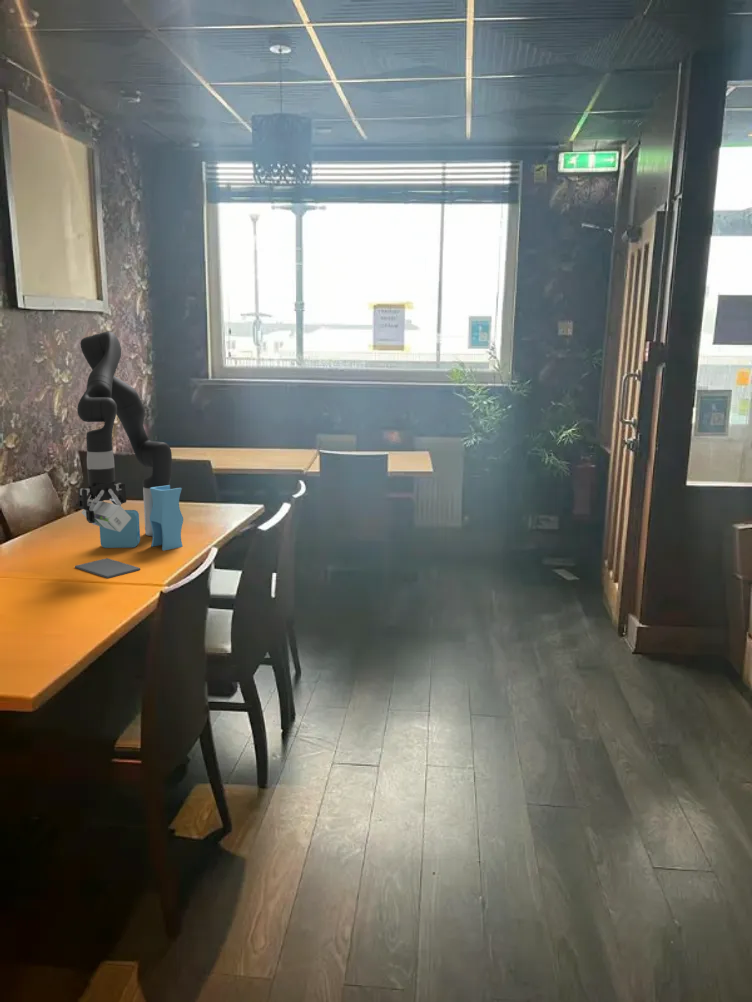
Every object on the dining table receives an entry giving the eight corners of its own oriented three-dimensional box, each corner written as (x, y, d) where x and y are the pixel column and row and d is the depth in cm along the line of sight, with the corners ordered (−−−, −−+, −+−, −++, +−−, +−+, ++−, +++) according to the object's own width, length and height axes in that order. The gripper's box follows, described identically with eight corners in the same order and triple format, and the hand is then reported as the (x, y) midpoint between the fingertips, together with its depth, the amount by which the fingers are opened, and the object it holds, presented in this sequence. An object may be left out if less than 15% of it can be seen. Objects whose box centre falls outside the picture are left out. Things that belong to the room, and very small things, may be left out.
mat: (74, 567, 222) (74, 565, 221) (107, 560, 230) (107, 558, 230) (107, 578, 211) (107, 576, 211) (140, 569, 220) (140, 567, 220)
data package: (140, 544, 250) (138, 509, 248) (137, 547, 245) (135, 512, 243) (104, 544, 249) (101, 510, 246) (100, 548, 244) (98, 512, 242)
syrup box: (120, 532, 213) (91, 525, 222) (132, 517, 216) (104, 510, 225) (107, 520, 209) (79, 513, 218) (121, 504, 212) (92, 498, 221)
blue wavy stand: (184, 546, 248) (182, 488, 244) (163, 550, 242) (160, 490, 238) (171, 542, 253) (169, 484, 249) (150, 546, 247) (148, 487, 243)
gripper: (114, 462, 223) (117, 514, 226) (71, 467, 211) (74, 522, 215) (129, 464, 218) (132, 518, 221) (85, 470, 207) (89, 526, 210)
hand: (104, 520), depth 218 cm, fingers closed on syrup box, 8 cm apart
